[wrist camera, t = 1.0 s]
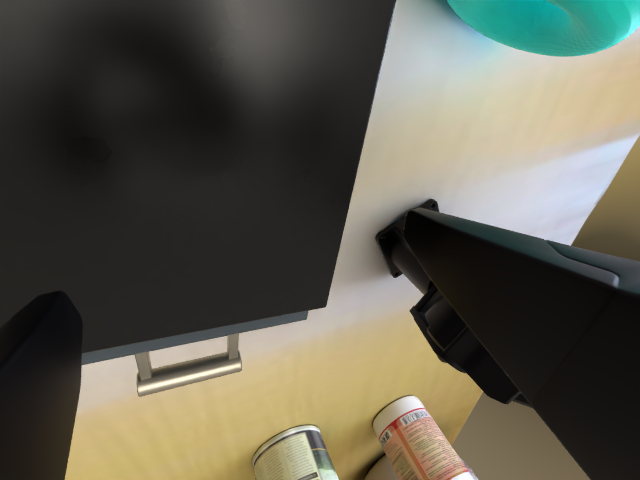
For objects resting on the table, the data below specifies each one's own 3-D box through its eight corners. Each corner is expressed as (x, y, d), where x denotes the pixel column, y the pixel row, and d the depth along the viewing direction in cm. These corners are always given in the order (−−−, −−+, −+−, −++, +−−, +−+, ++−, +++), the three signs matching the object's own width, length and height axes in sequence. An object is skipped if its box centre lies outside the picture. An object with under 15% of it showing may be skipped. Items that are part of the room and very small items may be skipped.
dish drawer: (270, 307, 27) (296, 373, 22) (82, 340, 21) (59, 439, 16) (301, 14, 16) (366, 11, 11) (-59, -70, 11) (-253, -150, 6)
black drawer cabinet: (282, 231, 24) (326, 307, 18) (44, 249, 18) (-16, 372, 12) (313, -49, 16) (418, -95, 9) (-113, -189, 10) (-624, -580, 3)
